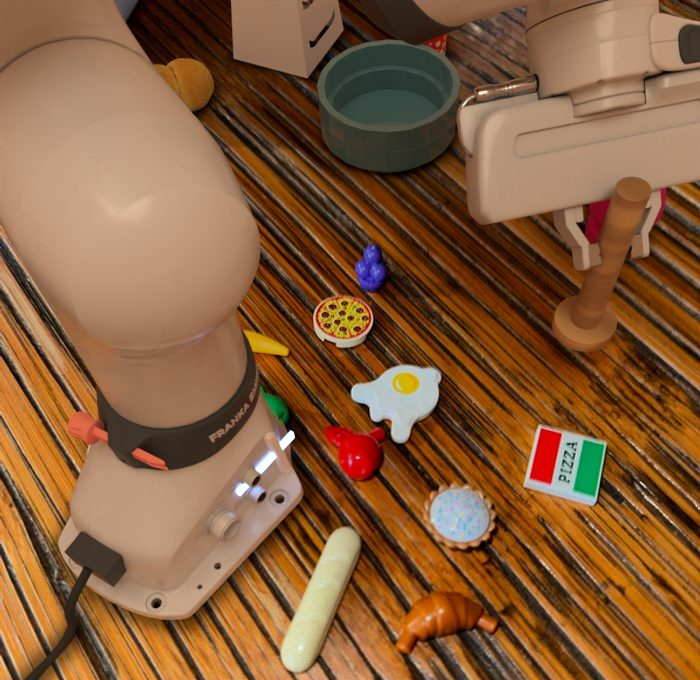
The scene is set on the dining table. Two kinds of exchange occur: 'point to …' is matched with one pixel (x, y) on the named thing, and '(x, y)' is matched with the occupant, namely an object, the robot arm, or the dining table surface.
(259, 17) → the grater
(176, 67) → the bread roll
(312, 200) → the dining table surface
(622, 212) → the stick
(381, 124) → the bowl
